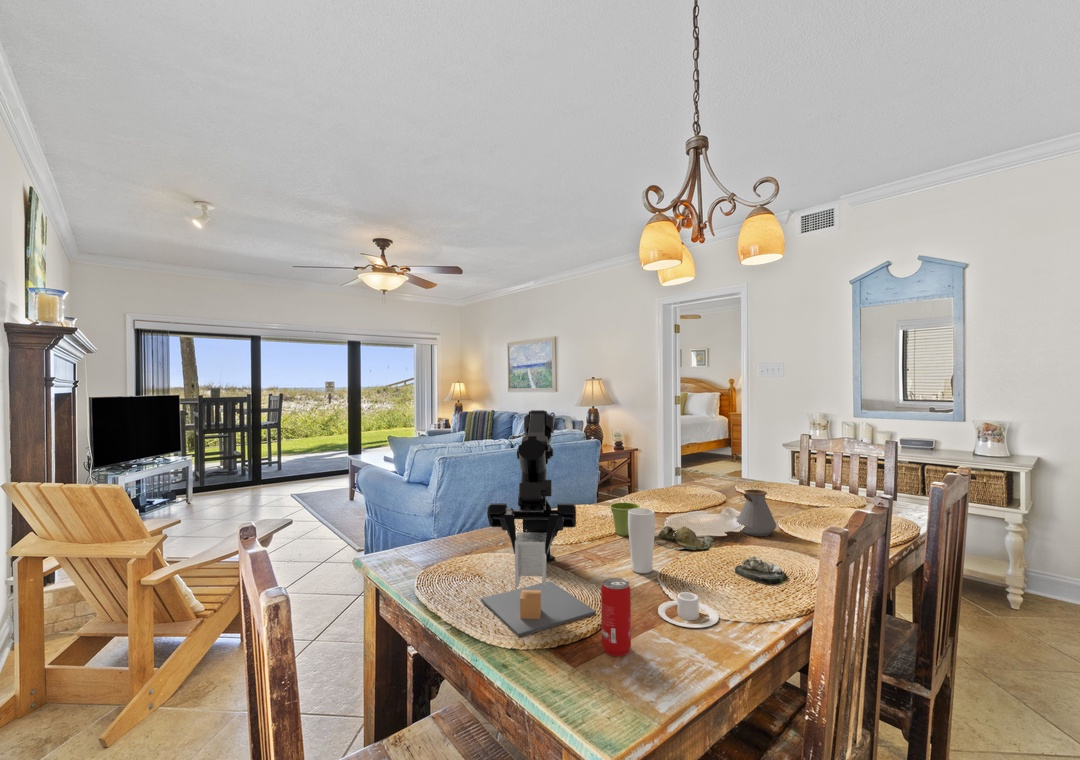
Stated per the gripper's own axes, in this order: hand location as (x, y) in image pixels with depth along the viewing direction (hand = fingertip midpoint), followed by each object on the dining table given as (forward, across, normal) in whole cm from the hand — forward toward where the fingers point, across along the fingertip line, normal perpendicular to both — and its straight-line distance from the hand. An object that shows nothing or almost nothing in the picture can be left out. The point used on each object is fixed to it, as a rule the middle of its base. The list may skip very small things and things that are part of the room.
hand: (530, 553), depth 101 cm
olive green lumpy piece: (-25, +43, +46) cm, 67 cm away
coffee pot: (-29, +64, +48) cm, 85 cm away
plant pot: (-31, +26, +50) cm, 64 cm away
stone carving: (-7, +55, +27) cm, 62 cm away
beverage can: (+17, +16, +2) cm, 24 cm away
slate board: (+6, +1, +13) cm, 15 cm away
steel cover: (+3, 0, +5) cm, 6 cm away
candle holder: (+8, +32, +12) cm, 35 cm away
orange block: (+8, 0, +10) cm, 13 cm away
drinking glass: (-9, +26, +29) cm, 40 cm away
